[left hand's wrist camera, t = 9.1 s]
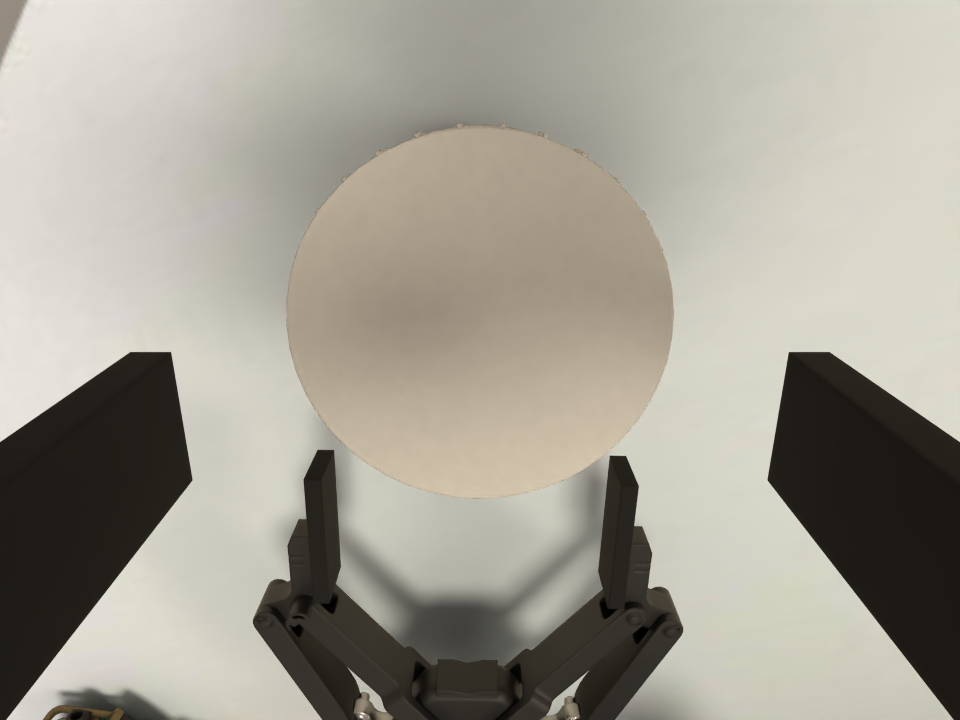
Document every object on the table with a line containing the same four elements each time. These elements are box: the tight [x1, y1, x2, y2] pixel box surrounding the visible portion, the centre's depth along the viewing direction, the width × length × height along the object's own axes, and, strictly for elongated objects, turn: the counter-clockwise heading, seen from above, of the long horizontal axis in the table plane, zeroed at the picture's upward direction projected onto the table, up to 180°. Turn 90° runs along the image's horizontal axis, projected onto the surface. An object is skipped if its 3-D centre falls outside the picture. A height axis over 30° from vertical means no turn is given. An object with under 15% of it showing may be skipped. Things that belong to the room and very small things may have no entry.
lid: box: [287, 123, 674, 498], centre depth 19 cm, size 10×10×2 cm
